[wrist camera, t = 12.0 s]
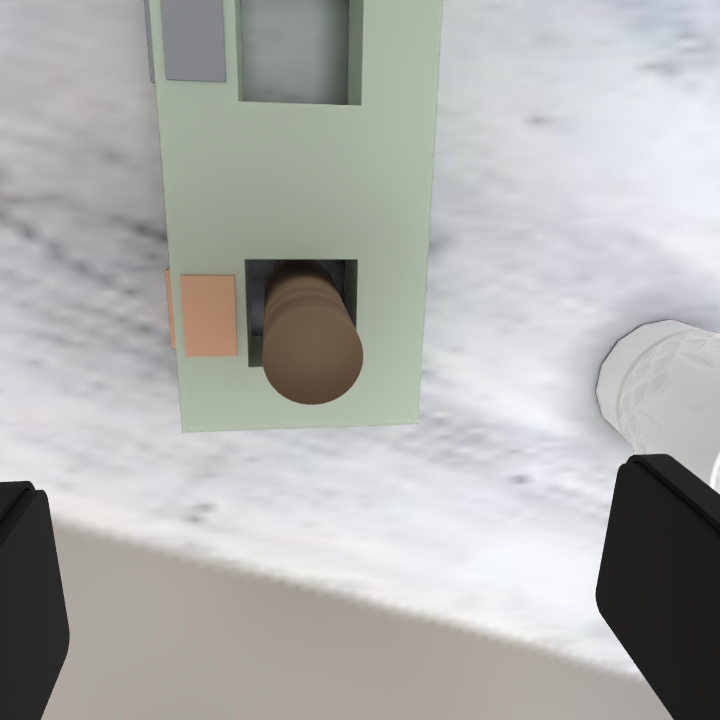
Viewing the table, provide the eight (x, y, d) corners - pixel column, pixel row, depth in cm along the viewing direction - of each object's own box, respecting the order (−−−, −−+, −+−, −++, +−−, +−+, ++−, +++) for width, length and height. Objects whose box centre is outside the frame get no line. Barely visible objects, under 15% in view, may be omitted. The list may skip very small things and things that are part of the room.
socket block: (153, -99, 23) (125, -158, 19) (419, -79, 25) (452, -130, 20) (188, 392, 30) (173, 435, 25) (398, 386, 31) (419, 426, 27)
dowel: (264, 256, 28) (260, 309, 19) (334, 256, 29) (364, 308, 19) (265, 323, 29) (263, 406, 20) (333, 322, 30) (361, 403, 20)
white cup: (568, 344, 32) (693, 426, 22) (709, 284, 32) (894, 341, 22) (603, 466, 34) (727, 586, 25) (733, 412, 34) (906, 511, 25)
